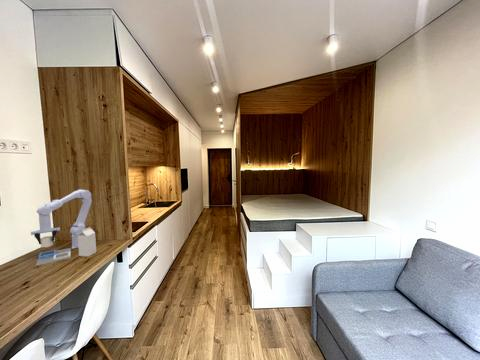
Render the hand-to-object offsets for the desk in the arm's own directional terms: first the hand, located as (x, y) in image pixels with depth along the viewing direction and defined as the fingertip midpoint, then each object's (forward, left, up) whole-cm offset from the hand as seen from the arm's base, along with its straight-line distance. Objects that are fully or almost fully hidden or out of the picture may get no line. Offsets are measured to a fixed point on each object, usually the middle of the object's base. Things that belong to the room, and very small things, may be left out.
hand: (46, 242), depth 145 cm
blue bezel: (0, 0, -9) cm, 9 cm away
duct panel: (-4, +5, -9) cm, 11 cm away
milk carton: (-22, +15, -10) cm, 28 cm away
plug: (0, 0, -2) cm, 2 cm away
